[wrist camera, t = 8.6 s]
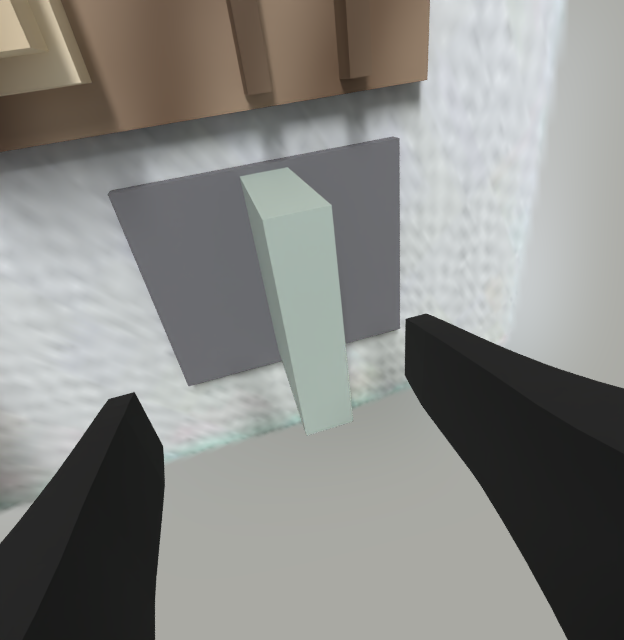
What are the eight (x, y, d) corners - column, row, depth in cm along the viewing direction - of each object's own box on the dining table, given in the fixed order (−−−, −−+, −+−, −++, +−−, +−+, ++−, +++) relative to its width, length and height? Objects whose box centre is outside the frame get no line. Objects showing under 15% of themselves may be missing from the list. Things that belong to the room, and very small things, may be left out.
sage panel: (278, 350, 20) (306, 435, 15) (239, 176, 15) (262, 219, 10) (314, 341, 21) (353, 421, 16) (287, 167, 16) (331, 205, 11)
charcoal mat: (188, 379, 21) (188, 386, 20) (110, 190, 15) (107, 194, 14) (395, 323, 22) (399, 328, 22) (393, 136, 17) (399, 138, 16)
